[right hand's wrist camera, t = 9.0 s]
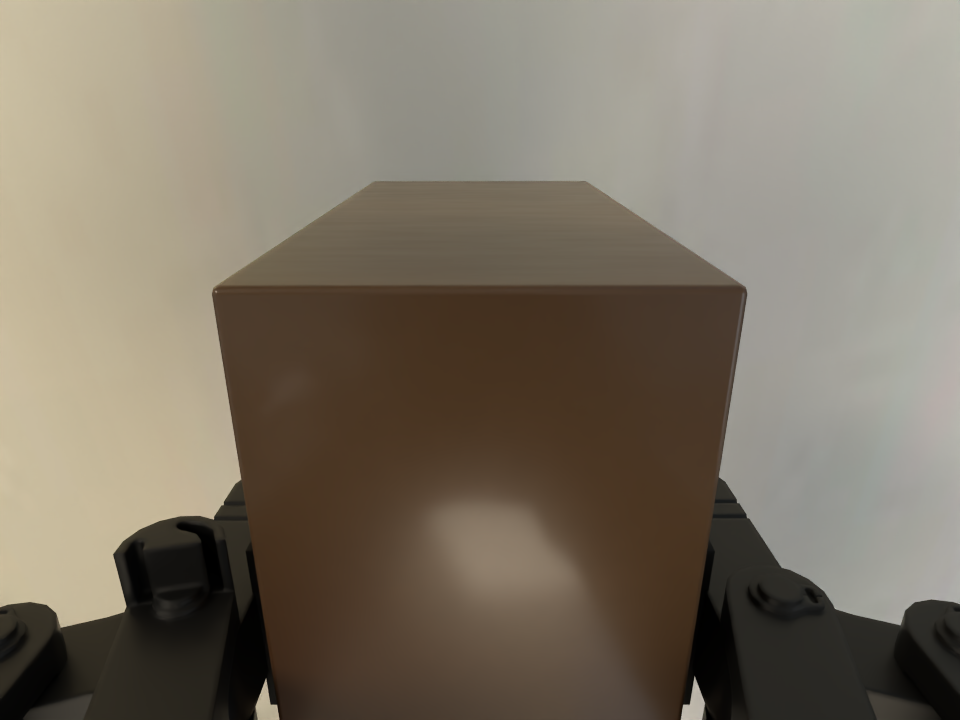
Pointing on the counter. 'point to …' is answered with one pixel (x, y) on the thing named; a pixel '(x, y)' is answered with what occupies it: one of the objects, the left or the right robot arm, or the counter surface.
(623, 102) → the counter surface
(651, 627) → the post
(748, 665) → the right robot arm
